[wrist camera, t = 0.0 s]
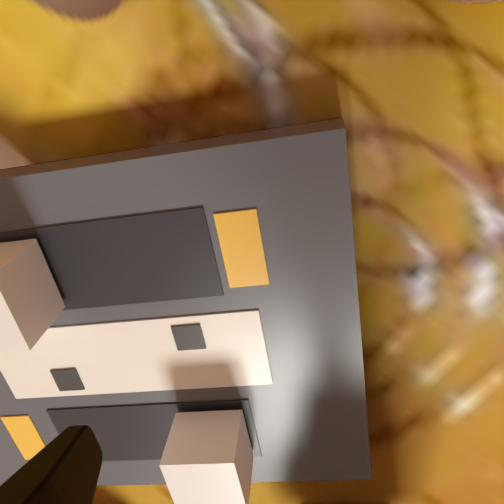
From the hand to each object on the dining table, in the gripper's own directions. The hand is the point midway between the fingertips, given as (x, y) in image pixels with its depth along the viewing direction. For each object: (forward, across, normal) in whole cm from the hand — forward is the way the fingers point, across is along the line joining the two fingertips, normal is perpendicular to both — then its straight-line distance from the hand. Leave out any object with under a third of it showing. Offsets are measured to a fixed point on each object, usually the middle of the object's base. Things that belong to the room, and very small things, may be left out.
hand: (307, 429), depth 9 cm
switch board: (+15, +12, +8) cm, 21 cm away
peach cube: (+12, +7, +14) cm, 20 cm away
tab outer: (+12, +15, +2) cm, 20 cm away
